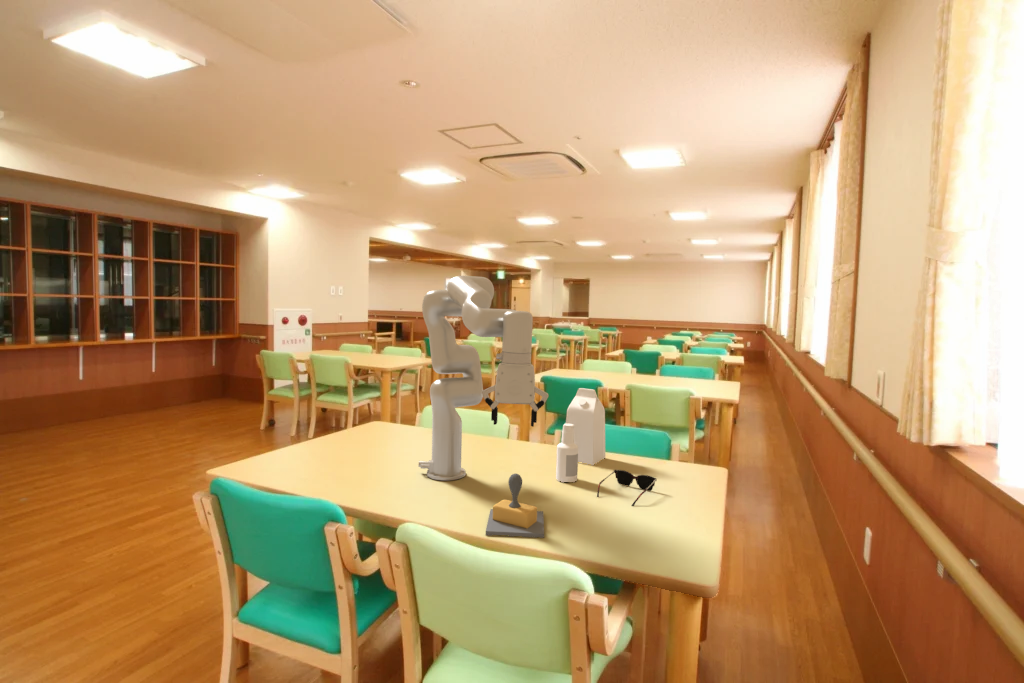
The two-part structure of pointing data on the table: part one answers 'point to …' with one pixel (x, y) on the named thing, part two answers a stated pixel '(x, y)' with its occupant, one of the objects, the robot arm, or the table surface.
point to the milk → (588, 425)
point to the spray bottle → (567, 456)
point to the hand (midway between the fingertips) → (513, 424)
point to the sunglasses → (627, 479)
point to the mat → (515, 527)
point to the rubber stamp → (515, 507)
